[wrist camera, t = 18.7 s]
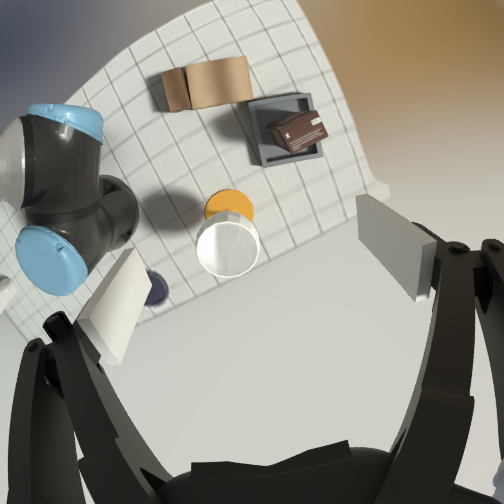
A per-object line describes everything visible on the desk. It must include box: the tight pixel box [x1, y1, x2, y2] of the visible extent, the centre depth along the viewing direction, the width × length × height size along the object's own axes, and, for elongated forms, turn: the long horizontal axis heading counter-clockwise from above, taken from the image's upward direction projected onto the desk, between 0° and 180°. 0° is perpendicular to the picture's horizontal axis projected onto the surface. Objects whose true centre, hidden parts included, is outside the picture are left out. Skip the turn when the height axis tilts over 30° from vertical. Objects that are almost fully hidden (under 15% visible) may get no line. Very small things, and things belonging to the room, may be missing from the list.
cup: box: [196, 189, 260, 278], centre depth 43 cm, size 9×9×16 cm
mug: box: [0, 278, 17, 314], centre depth 49 cm, size 10×7×12 cm, turn 122°
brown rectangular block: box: [161, 67, 192, 113], centre depth 38 cm, size 3×7×5 cm, turn 13°
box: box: [266, 110, 328, 154], centre depth 38 cm, size 6×4×12 cm
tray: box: [248, 93, 323, 168], centre depth 43 cm, size 11×12×2 cm
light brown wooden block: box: [186, 56, 253, 110], centre depth 39 cm, size 10×8×3 cm
